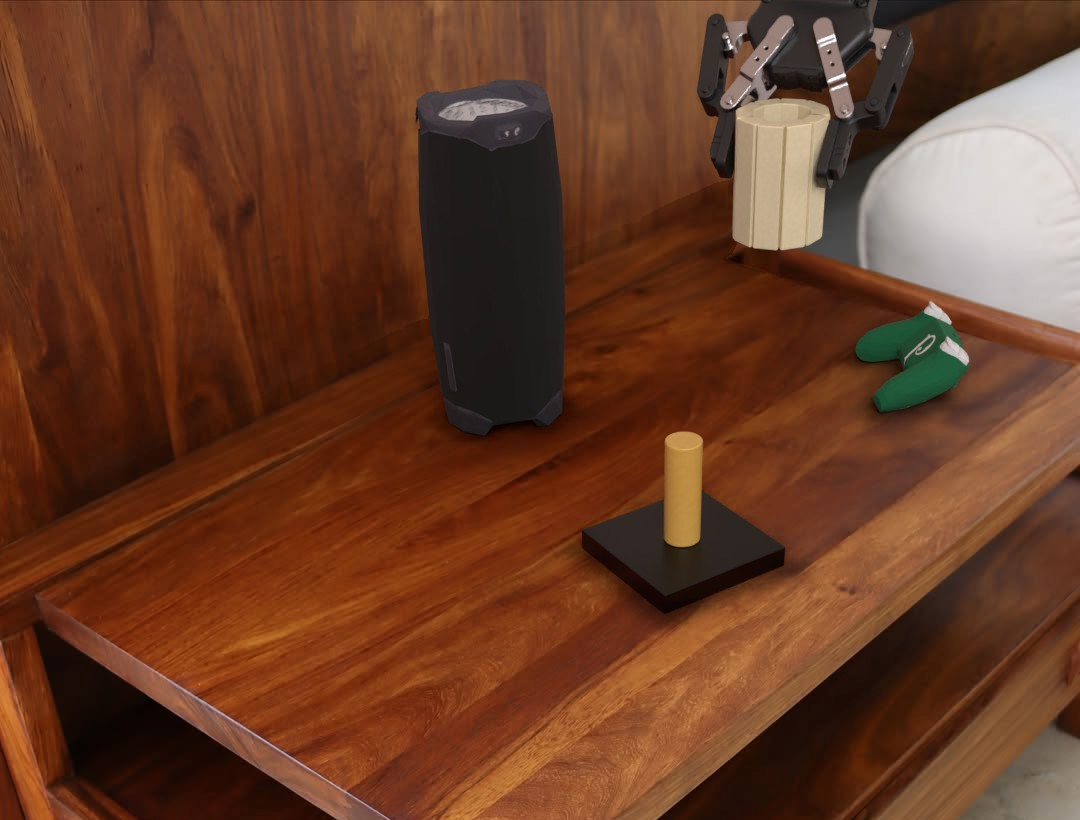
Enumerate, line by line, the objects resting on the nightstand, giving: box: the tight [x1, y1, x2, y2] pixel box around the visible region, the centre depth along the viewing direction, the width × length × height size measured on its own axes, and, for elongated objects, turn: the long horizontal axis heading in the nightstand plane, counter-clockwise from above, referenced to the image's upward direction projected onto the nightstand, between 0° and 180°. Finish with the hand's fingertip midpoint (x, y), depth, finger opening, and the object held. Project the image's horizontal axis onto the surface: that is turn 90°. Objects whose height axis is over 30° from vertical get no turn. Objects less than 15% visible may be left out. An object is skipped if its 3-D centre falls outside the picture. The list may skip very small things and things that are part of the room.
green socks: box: [855, 300, 970, 413], centre depth 94 cm, size 9×4×6 cm
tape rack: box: [581, 431, 786, 615], centre depth 78 cm, size 8×8×7 cm
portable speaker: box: [414, 79, 566, 437], centre depth 89 cm, size 9×9×20 cm
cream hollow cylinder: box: [731, 97, 831, 251], centre depth 97 cm, size 6×6×8 cm
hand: (772, 177), depth 96 cm, fingers closed on cream hollow cylinder, 6 cm apart
